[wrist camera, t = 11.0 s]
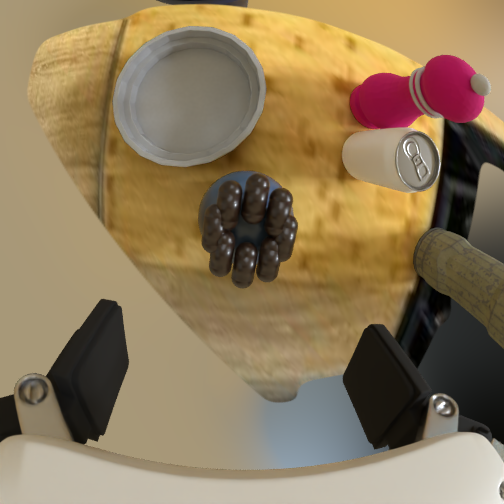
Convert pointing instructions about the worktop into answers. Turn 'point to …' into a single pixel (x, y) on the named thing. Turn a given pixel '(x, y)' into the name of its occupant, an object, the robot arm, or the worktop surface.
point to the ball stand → (243, 229)
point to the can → (392, 158)
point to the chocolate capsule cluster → (253, 211)
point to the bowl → (189, 96)
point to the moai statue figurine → (464, 276)
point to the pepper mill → (421, 95)
